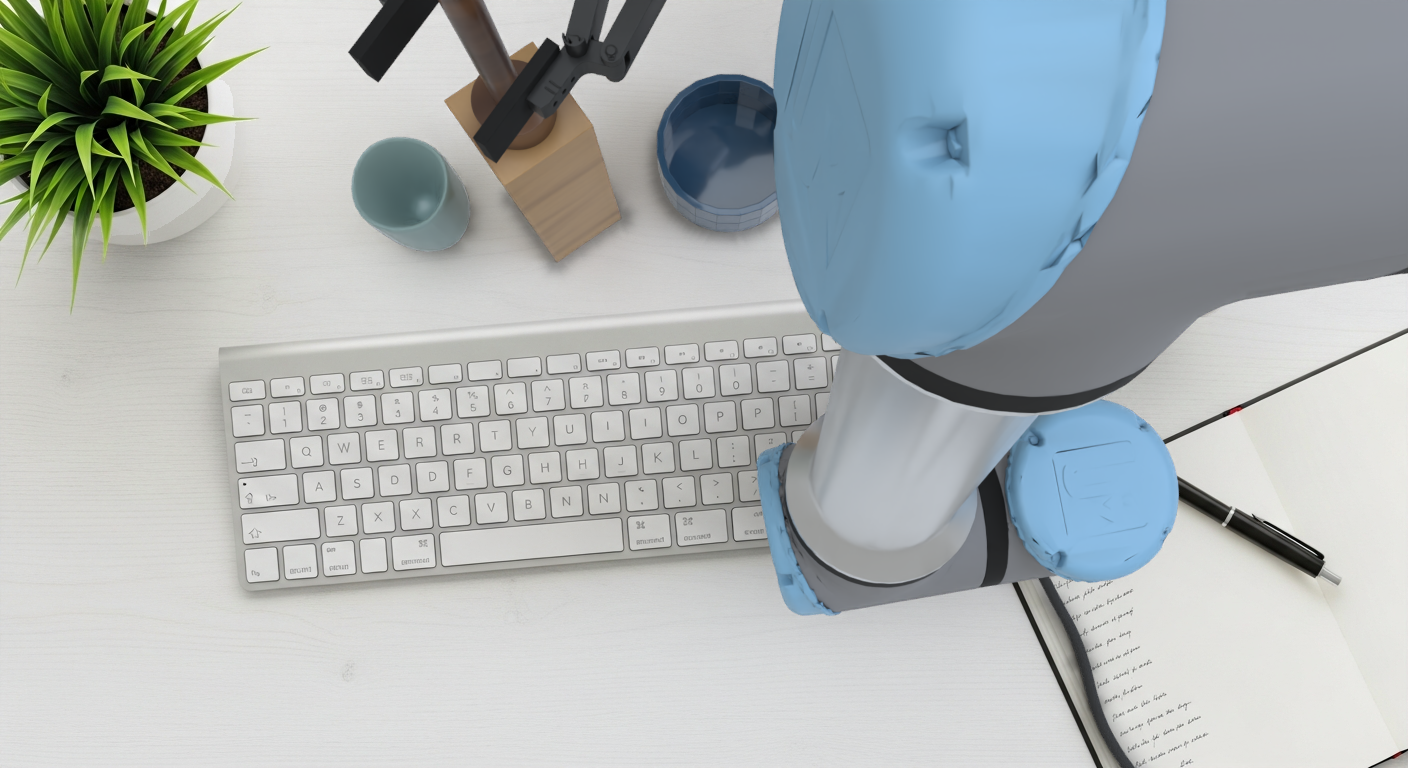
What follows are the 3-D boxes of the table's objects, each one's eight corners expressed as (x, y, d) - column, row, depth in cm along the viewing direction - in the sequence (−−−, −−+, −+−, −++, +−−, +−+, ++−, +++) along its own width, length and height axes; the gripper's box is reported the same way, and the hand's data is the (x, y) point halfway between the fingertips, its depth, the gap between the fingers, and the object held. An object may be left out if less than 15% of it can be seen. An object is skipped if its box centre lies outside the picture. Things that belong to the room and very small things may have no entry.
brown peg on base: (572, 121, 58) (514, -37, 39) (508, 165, 57) (420, 25, 39) (528, 61, 58) (451, -125, 40) (464, 103, 58) (357, -63, 39)
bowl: (821, 181, 80) (831, 161, 75) (711, 258, 79) (712, 243, 74) (742, 74, 81) (746, 46, 75) (632, 149, 80) (628, 126, 75)
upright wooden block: (621, 218, 80) (593, 125, 58) (557, 262, 79) (503, 186, 57) (577, 155, 80) (532, 40, 58) (512, 199, 80) (443, 100, 58)
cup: (485, 180, 80) (455, 140, 70) (474, 265, 79) (442, 236, 69) (398, 171, 80) (356, 130, 70) (387, 256, 79) (343, 226, 69)
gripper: (815, -82, 52) (588, 234, 50) (535, -267, 53) (302, 37, 51) (836, -174, 45) (569, 194, 43) (508, -387, 45) (234, -35, 44)
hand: (424, 108), depth 47 cm, fingers open, 7 cm apart
